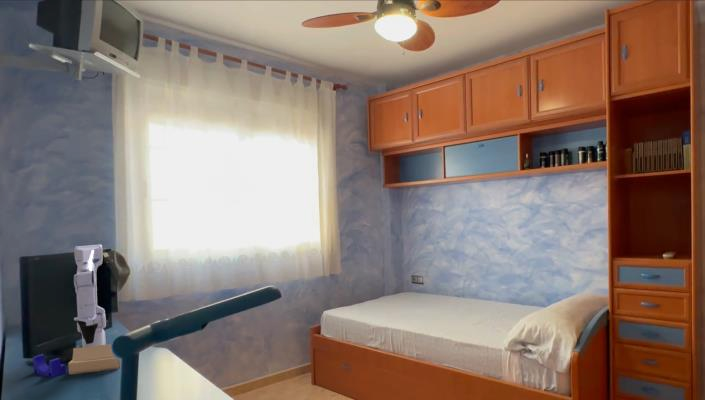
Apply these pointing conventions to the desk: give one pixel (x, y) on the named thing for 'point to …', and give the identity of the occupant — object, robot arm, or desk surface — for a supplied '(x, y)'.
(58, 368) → the cable clip
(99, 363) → the carton
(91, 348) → the carton flap
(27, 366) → the desk surface
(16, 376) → the desk surface
